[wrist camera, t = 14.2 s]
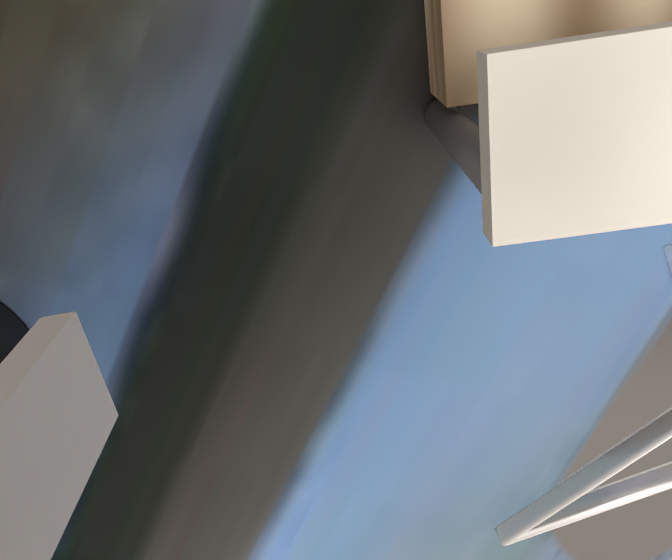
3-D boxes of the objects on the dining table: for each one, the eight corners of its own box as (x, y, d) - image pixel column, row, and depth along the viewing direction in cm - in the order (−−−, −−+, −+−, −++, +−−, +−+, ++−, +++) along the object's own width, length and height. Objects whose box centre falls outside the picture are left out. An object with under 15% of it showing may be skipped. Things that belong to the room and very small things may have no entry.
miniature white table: (418, 133, 39) (492, 246, 21) (409, 28, 36) (486, 53, 18) (664, 98, 38) (962, 185, 20) (674, -13, 36) (1030, -27, 18)
